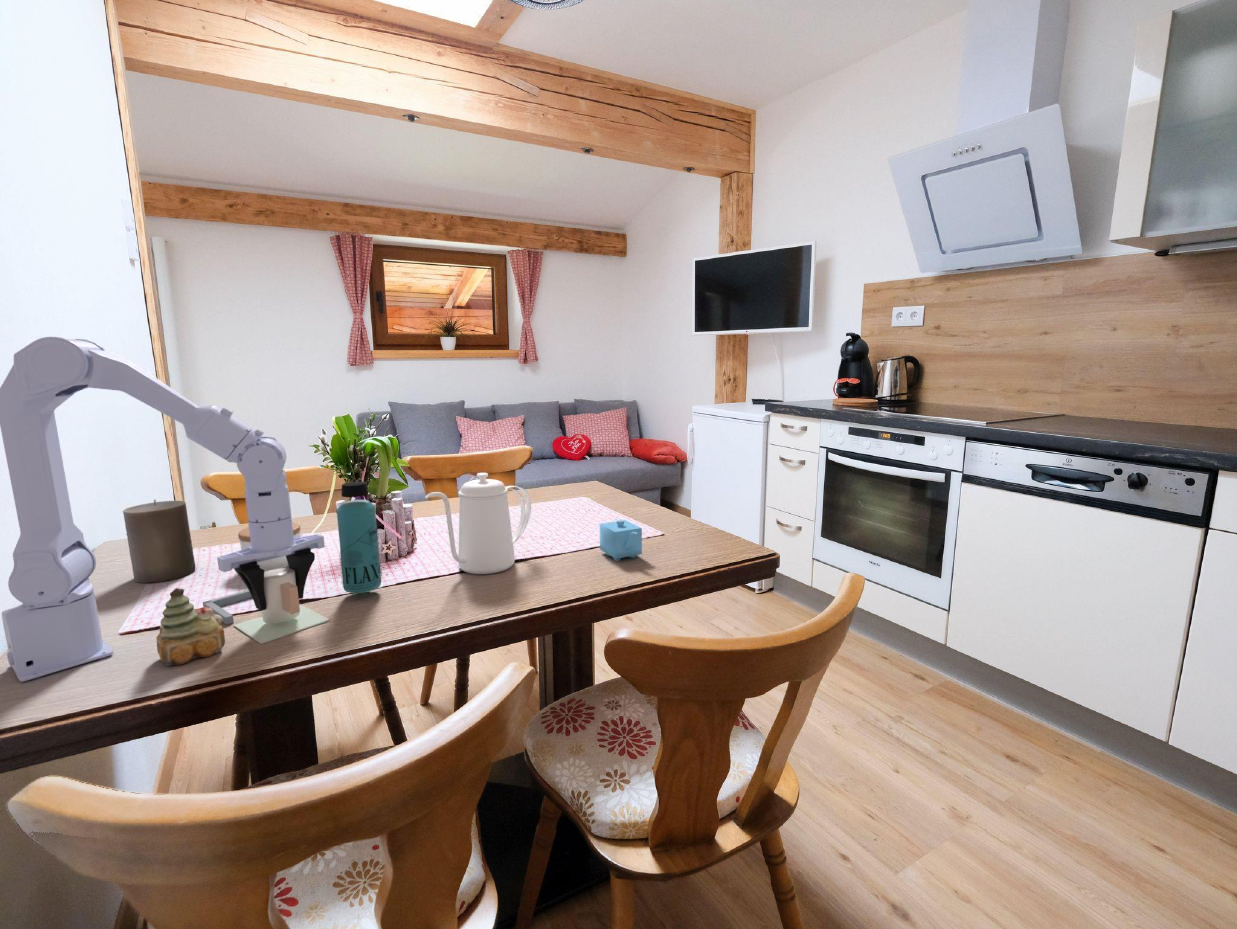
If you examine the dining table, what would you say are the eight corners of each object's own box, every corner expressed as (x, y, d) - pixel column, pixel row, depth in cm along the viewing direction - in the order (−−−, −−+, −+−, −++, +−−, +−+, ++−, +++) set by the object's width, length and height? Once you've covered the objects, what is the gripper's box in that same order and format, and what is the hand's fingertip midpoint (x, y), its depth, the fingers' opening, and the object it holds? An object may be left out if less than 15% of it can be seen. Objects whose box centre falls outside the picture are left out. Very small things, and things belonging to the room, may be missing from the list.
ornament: (219, 638, 90) (211, 574, 88) (233, 650, 86) (224, 583, 84) (153, 658, 84) (143, 589, 82) (165, 672, 80) (154, 601, 78)
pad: (261, 644, 87) (260, 642, 87) (234, 626, 93) (233, 624, 93) (329, 620, 95) (329, 619, 95) (300, 605, 101) (300, 604, 101)
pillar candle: (206, 570, 119) (196, 495, 117) (152, 586, 111) (139, 506, 108) (177, 564, 123) (166, 492, 121) (122, 580, 115) (109, 502, 112)
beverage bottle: (340, 603, 102) (329, 487, 98) (346, 589, 108) (336, 480, 105) (381, 599, 103) (371, 485, 100) (385, 585, 110) (376, 477, 106)
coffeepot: (413, 579, 112) (406, 481, 109) (513, 546, 132) (509, 461, 129) (450, 592, 106) (443, 488, 103) (549, 555, 125) (546, 466, 122)
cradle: (226, 624, 94) (225, 617, 94) (203, 609, 100) (202, 602, 100) (299, 602, 102) (298, 595, 102) (273, 589, 109) (273, 582, 108)
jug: (257, 618, 94) (252, 575, 93) (290, 607, 98) (286, 566, 96) (279, 631, 89) (274, 586, 88) (314, 619, 93) (309, 576, 91)
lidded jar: (249, 561, 124) (243, 517, 123) (306, 554, 128) (302, 511, 126) (237, 578, 114) (231, 530, 113) (300, 571, 118) (295, 524, 116)
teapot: (650, 563, 120) (650, 526, 119) (623, 568, 117) (622, 531, 116) (622, 547, 131) (622, 513, 129) (597, 551, 128) (596, 517, 127)
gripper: (226, 533, 83) (238, 625, 86) (330, 512, 94) (338, 594, 97) (207, 525, 88) (219, 613, 90) (309, 505, 99) (317, 584, 101)
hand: (279, 602), depth 94 cm, fingers closed on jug, 5 cm apart
